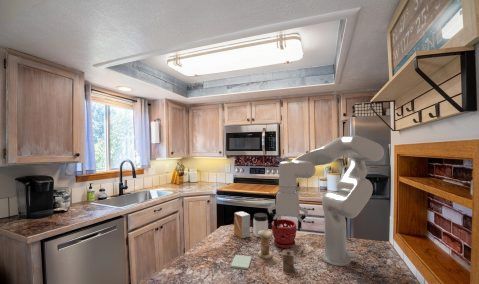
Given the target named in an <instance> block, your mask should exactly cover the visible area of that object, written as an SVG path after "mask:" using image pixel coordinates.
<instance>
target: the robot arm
mask: <svg viewBox="0 0 479 284" xmlns="http://www.w3.org/2000/svg"><path fill="white" fill-rule="evenodd" d="M345 155H348V157H349V158H348V159H349V166H348V168H347V169H346V171H345V172H344V174H343V175H342V176H341V177H340V179H339V180H338V182H337V185H336V189H337V191H338V192H337V191H327V192H326V193H324V195H323V196H322V199H321V205H322V209H323V215H324V216H323V217H324V219H323V220H324V223H323V224H324V225H323V226H324V251H323V252H322V253H321V256H320V257H321V259H322V260H323V261H324V262H325V263H327V264H329V265H332V266H337V267H347V266H349V265H350V264H351V260H352V259H355V260H358V259H359V255H358V254H357V253H354V252H353V251H348V250H347V249H348V248H347V220H346V218H347V219H354V218H356V217H357V216H358V215H359V214H361V212H362V210H363V209H364V207H365V206H366V205H367V203H368V202H369V200H370V198H372V194H373V191H374V188H373V187H374V186H373V184H372V182H371V181H370V179H367V178H366V177H367V174H368V169H367V166H366V163H365V162H366V161H367V162H378V161H380V160H382V159H383V158H384V156H385V149H384V147H383V146H382V145H381V144H380V143H378V142H376V141H374V140H370V139H368V138H365V137H364V136H359V135H344V136H339V137H337V138H335V139H334V140H332V141H330V142H328V143H326V144H325V145H323V146H321V147H320V148H316V149H313V150H311V151H308V152H305V153H303V154H301V155H299V156H297V157H296V158H294V159H292V160H291V161H290V160H287V161H280V162H279V165H278V166H279V167H278V179H279V180H278V191H277V193H276V199H275V204H274V205H272V206H270V207H268V208H267V212H268V213H269V216H270V217H271V218H272V219H273V221H274V226H275V229H277V226H278V225H277V220H278V218H279V217H280V216H281V217H289V218H290V217H291V218H297V219H298V220H297V231H298V232H300V231H301V229H302V223H303V221H304V219H307V218H306V217H307V216H308V214H309V210H307V209H306V208H304V207H302V206H301V205H300V197H299V192H300V191H301V188H300V187H298V186H297V182H298V181H297V179H298V178H299V179H310V178H312V177H313V176H315V174H316V171H317V170H316V167H317V166H318V167H319V166H325V165H330V164H332V163H334V162H335V161H337V160H339V159H340V158H342V157H344V156H345ZM274 210H275V214H274V212H273V211H274ZM300 212H303V214H302V215H300Z"/></svg>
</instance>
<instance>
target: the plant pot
mask: <svg viewBox="0 0 479 284" xmlns="http://www.w3.org/2000/svg"><path fill="white" fill-rule="evenodd" d="M280 225H282V226H280ZM271 232H272V237H273V243H274V245H275V246H277V247H278V248H282V249H291V248H293V247H294V246H295V245H296V241H295V239H296V237H297V223H296V222H295V221H293V220H292V219H286V218H282V219H281V218H279V219H278V218H277V229H275V226H274V220H273V221H272V222H271Z"/></svg>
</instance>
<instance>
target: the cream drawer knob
mask: <svg viewBox="0 0 479 284" xmlns="http://www.w3.org/2000/svg"><path fill="white" fill-rule="evenodd" d="M258 236H260V237H259V238H260V250H259V251H258V252H257V255H258V256H257V257H258V258H260V259H262V260H269V259H272V257H273V252H272V251H270V238H271V237H273V233H272V230H271V231H270V230H269V229H268V230H261V231H259V232H258Z"/></svg>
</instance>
